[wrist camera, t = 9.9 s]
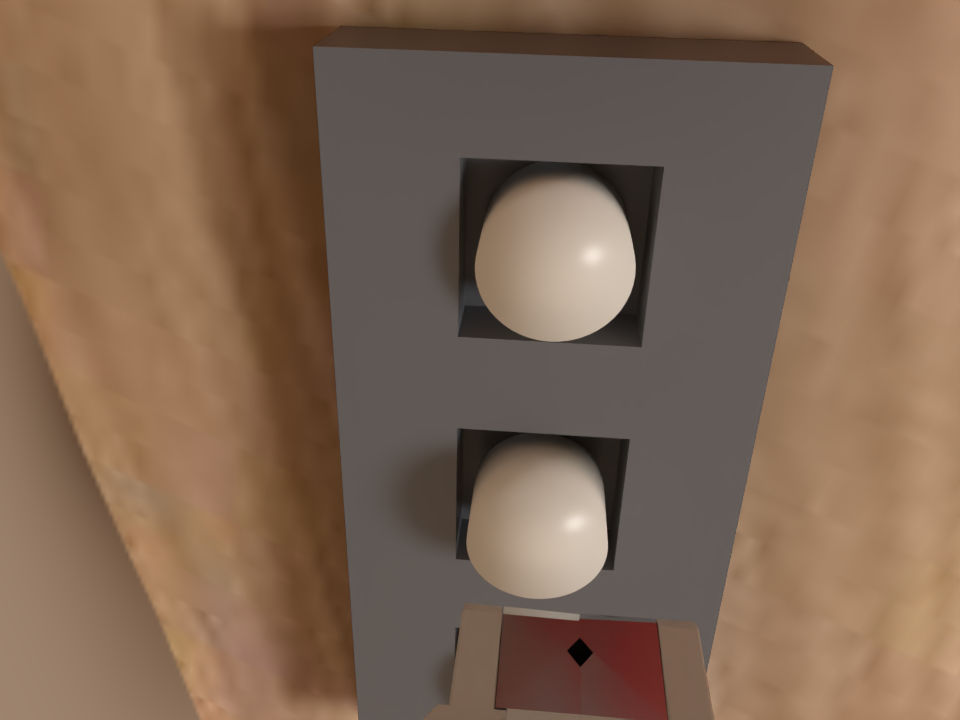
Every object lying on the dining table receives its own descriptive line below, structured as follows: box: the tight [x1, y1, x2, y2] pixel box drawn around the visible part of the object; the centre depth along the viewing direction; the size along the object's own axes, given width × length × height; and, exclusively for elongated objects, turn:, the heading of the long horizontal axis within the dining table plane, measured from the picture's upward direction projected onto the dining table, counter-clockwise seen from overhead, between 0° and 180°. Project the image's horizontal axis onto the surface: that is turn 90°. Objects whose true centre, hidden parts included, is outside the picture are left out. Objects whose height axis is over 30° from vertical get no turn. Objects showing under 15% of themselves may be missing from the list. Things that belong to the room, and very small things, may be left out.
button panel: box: [313, 26, 833, 720], centre depth 28 cm, size 26×12×3 cm, turn 179°
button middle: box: [466, 433, 608, 599], centre depth 26 cm, size 4×4×3 cm
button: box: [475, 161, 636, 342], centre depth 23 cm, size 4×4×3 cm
